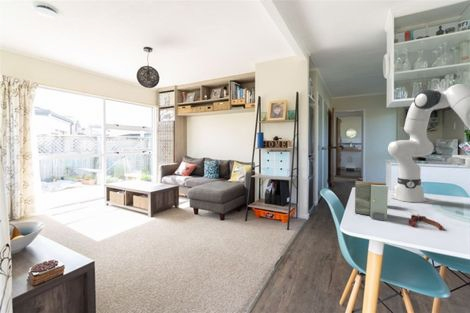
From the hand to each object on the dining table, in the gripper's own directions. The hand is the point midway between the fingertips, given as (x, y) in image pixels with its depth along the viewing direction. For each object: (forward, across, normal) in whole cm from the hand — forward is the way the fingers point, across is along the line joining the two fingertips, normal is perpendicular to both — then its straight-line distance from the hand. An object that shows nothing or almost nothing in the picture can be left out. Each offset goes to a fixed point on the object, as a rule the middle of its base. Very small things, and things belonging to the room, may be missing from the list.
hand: (445, 160), depth 102 cm
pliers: (+7, +2, +31) cm, 32 cm away
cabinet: (+30, 0, +30) cm, 42 cm away
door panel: (+26, +5, +30) cm, 40 cm away
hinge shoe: (+26, +5, +30) cm, 40 cm away
